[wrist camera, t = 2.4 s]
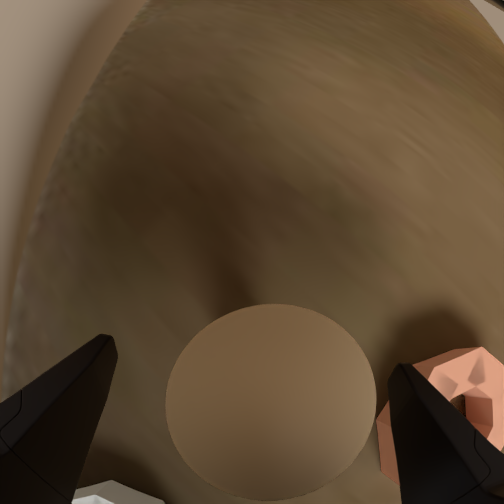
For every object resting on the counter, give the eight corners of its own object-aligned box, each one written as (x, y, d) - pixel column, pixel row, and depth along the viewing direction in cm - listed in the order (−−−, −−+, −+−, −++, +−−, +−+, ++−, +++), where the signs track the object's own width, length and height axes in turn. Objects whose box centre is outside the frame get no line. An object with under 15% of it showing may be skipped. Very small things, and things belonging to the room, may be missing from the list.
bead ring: (440, 496, 14) (463, 510, 11) (349, 456, 15) (367, 472, 12) (502, 387, 16) (529, 388, 13) (427, 329, 17) (454, 324, 15)
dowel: (255, 393, 16) (295, 528, 3) (216, 366, 17) (126, 424, 3) (282, 356, 17) (410, 373, 4) (244, 329, 17) (248, 262, 4)
